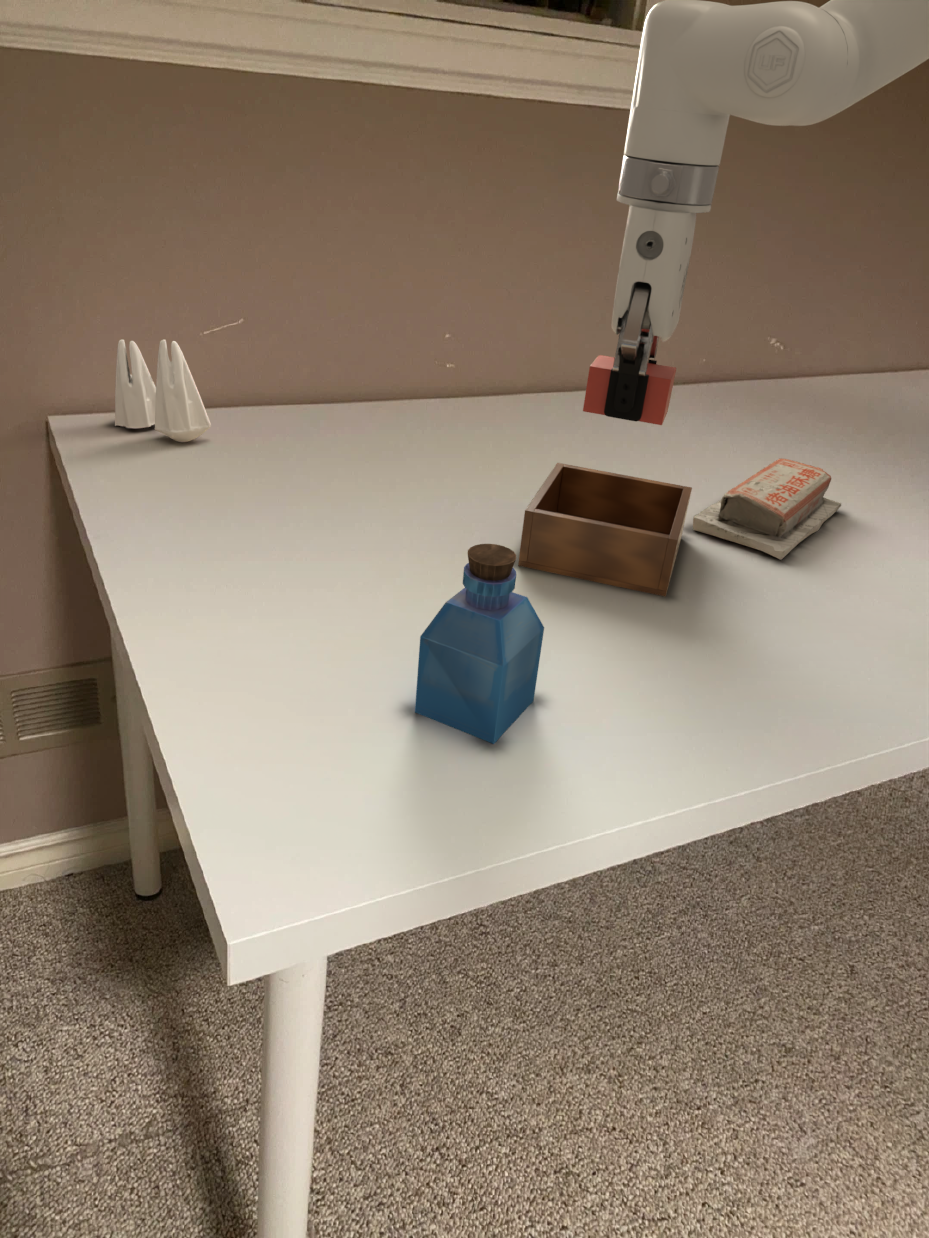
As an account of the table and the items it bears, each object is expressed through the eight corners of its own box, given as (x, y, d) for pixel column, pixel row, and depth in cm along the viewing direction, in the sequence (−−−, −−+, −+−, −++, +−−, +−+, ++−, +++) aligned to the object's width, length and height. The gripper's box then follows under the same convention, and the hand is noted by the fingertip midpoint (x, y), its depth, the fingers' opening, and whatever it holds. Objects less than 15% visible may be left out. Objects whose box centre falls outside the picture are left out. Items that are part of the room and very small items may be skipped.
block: (667, 411, 85) (676, 367, 83) (661, 425, 82) (671, 379, 80) (591, 398, 87) (598, 354, 85) (582, 411, 83) (589, 366, 81)
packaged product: (764, 447, 108) (851, 472, 103) (754, 487, 110) (839, 513, 105) (698, 487, 95) (794, 517, 90) (688, 531, 97) (781, 563, 92)
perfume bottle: (493, 744, 63) (513, 586, 57) (414, 713, 65) (425, 557, 60) (533, 701, 68) (555, 551, 62) (458, 673, 70) (472, 526, 64)
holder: (680, 539, 95) (692, 487, 93) (665, 597, 84) (677, 540, 81) (549, 513, 98) (557, 462, 96) (517, 566, 87) (524, 510, 84)
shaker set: (214, 441, 108) (210, 344, 103) (187, 451, 105) (181, 350, 100) (139, 417, 113) (131, 323, 108) (112, 425, 110) (102, 329, 105)
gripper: (705, 201, 67) (656, 446, 76) (721, 185, 81) (678, 393, 91) (601, 188, 69) (566, 429, 78) (634, 174, 83) (601, 380, 92)
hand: (626, 407), depth 84 cm, fingers closed on block, 4 cm apart
